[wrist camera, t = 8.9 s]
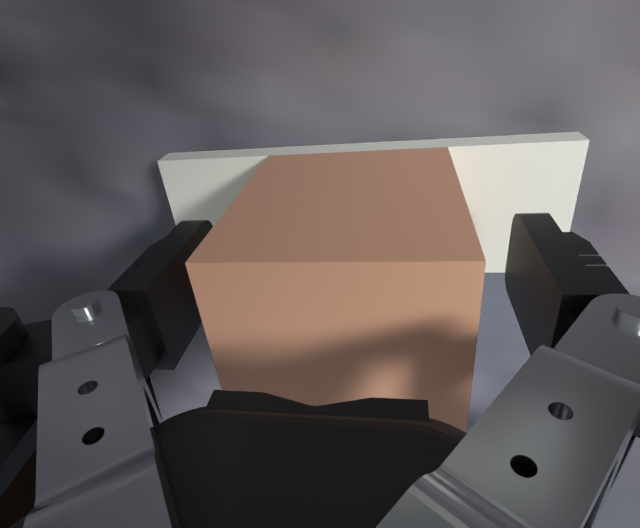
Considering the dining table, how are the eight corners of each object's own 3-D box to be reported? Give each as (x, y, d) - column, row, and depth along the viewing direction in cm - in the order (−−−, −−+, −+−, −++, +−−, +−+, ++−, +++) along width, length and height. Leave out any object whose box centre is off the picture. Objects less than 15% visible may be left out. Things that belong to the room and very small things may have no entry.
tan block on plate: (578, 131, 12) (746, 259, 6) (552, 258, 14) (660, 443, 8) (168, 152, 14) (11, 264, 8) (198, 260, 16) (88, 409, 10)
